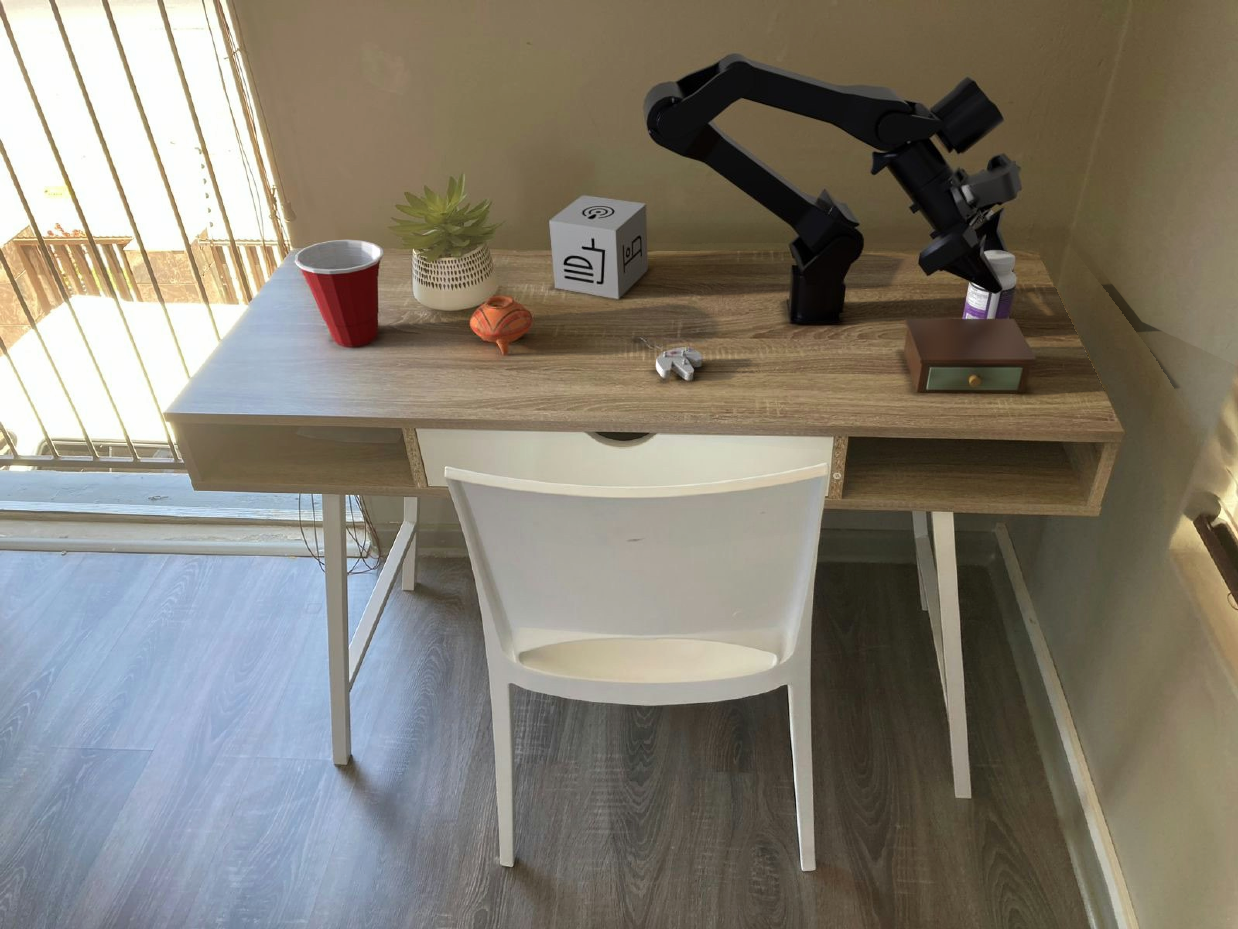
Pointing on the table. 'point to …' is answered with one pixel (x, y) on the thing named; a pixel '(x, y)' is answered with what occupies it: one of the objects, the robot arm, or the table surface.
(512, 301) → the pot
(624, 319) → the table surface
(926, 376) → the cabinet
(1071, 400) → the table surface
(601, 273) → the icon cube
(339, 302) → the plastic cup
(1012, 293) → the pill bottle
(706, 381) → the table surface
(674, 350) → the game controller
